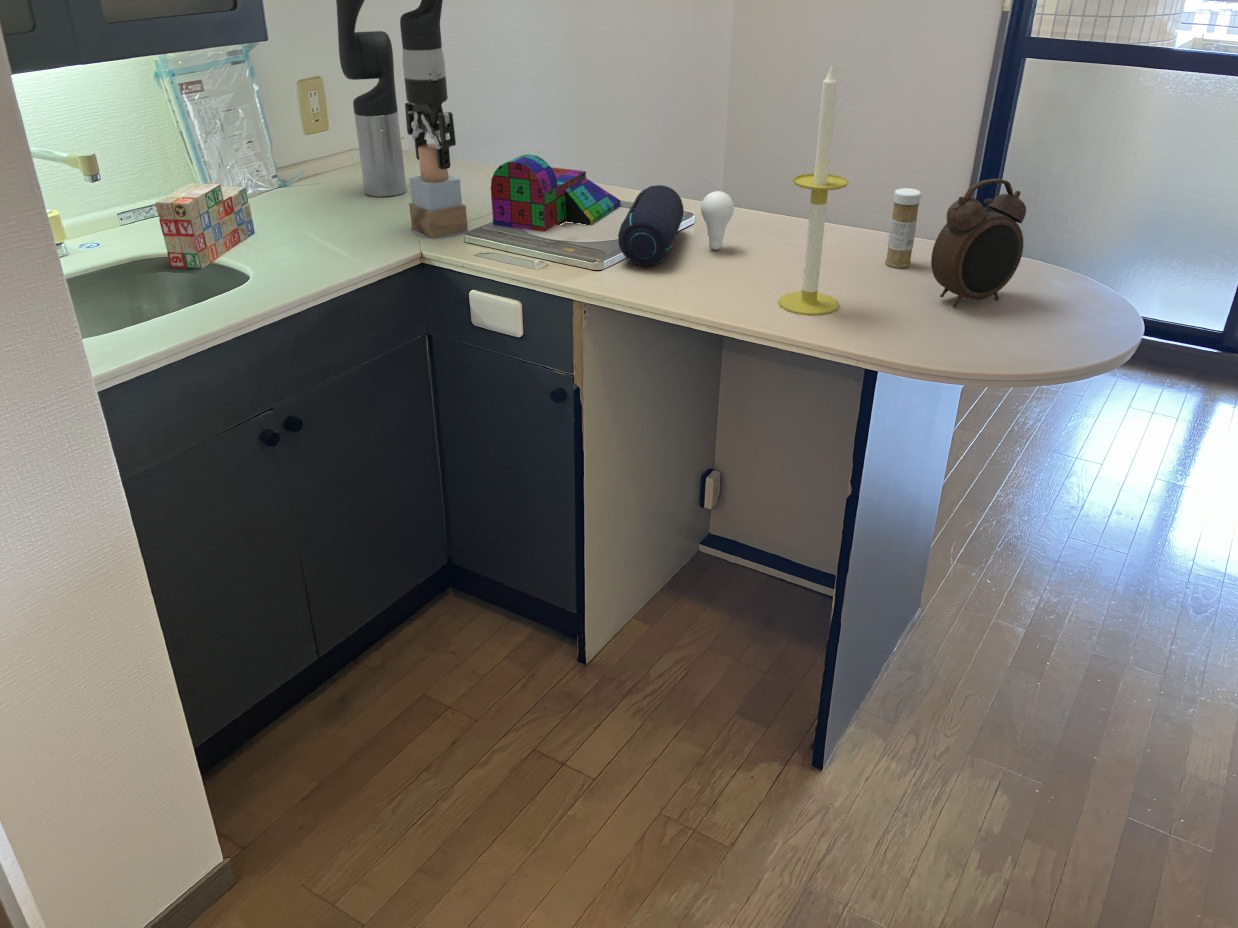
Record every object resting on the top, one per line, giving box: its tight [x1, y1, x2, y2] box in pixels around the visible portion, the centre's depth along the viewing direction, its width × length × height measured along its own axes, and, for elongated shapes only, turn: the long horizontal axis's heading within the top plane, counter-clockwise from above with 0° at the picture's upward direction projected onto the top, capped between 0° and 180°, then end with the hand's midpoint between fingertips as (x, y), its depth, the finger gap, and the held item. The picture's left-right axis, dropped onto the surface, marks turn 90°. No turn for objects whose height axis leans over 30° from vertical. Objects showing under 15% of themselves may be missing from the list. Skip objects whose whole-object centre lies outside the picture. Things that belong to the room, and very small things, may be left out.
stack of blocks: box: [155, 182, 256, 270], centre depth 189 cm, size 21×6×12 cm, turn 172°
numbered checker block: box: [490, 154, 622, 232], centre depth 206 cm, size 25×17×14 cm
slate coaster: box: [411, 228, 467, 240], centre depth 199 cm, size 11×11×1 cm
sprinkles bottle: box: [885, 187, 922, 269], centre depth 180 cm, size 5×5×13 cm
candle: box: [777, 63, 849, 316], centre depth 157 cm, size 10×10×38 cm
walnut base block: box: [408, 202, 469, 238], centre depth 197 cm, size 8×8×5 cm
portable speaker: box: [617, 184, 685, 267], centre depth 189 cm, size 25×10×10 cm, turn 170°
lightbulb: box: [700, 190, 735, 251], centre depth 188 cm, size 6×6×11 cm
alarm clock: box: [930, 178, 1027, 309], centre depth 162 cm, size 15×7×20 cm, turn 114°
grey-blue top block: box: [409, 174, 463, 212], centre depth 195 cm, size 7×7×5 cm
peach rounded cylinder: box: [418, 143, 449, 182], centre depth 192 cm, size 5×5×6 cm
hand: (433, 164), depth 192 cm, fingers open, 8 cm apart
